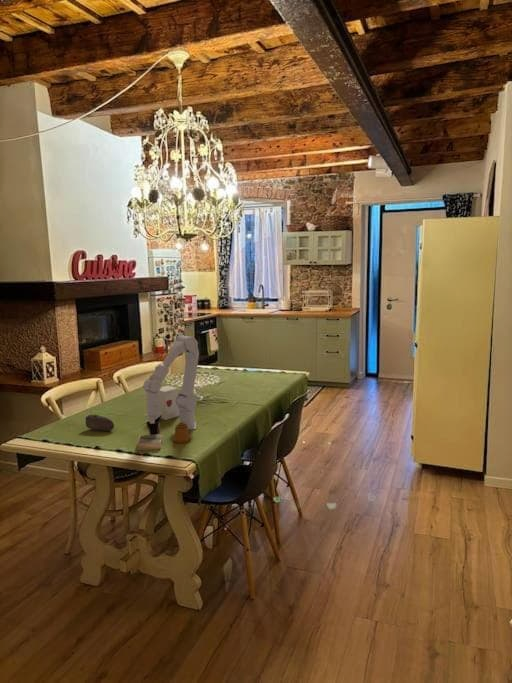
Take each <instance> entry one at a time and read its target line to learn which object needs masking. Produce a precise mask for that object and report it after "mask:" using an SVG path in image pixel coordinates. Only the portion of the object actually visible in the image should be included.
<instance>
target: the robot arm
mask: <svg viewBox="0 0 512 683" xmlns="http://www.w3.org/2000/svg"><path fill="white" fill-rule="evenodd" d="M198 344H199V342H198V341H197V339H196V337H195V338H194V337H193V336H186V335H183V334H179V335H177V336H176V337H175V339H174V341H173V342H172V346H171V348H170V349H169V350H168V351H169V352H168V353H167V355H166V356H165V358H164V359H163V361H162V363H159V364H157V365H156V366H155V367H154V370H153V372H152V373H151V375H149V377H148V378H147V379H146V380H144V382H143V385H142V388H143V389H144V390H145V395H146V396H145V397H146V412H147V413H145V414H144V417H146V418H148V419H149V421H146V426H147V427H148V431H149V430H150V433H151V435H154V434H157V429H158V425H159V422H160V421H161V416H162V414H161V413H160V400H159V390H160V389H161V387H162V383H163V381H164V380H165V378H166V377H167V375H168V374H169V373H170V372H169V371H170V369H169V367H170V366H171V365H172V364H173V362H174V361H175V360H176V358H177V357H178V356H179V355H180V354H185V355H186V362H185V366H184V375H183V379H182V386H181V389H180V390H178V396H177V397H176V405H177V406H178V409H179V416H178V417H179V418H178V420H179V423H181V422H183V423H185V424H186V425H188V431H190V430H196V427H197V422H196V421H195V410H196V409H195V408H197V404H198V403H197V394H196V392H195V391H194V390H195V389H194V388H195V384H196V383H195V382H196V377H197V370H198V365H199V357H200V351H199V347H198ZM160 423H161V422H160ZM179 423H178V424H179ZM150 433H149V434H150Z"/></svg>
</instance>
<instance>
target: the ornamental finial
mask: <svg viewBox="0 0 512 683" xmlns="http://www.w3.org/2000/svg"><path fill="white" fill-rule="evenodd" d="M189 431H190V430H188V425H186V424H185V423H183V422H181V423H178V424H176V425H175V427H174V436H173V441H174V442H175V443H177V444H183V443H184V444H185V443H189V441H190V440H191V437H192V436H191V435H190V432H189Z"/></svg>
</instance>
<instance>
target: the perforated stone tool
mask: <svg viewBox="0 0 512 683" xmlns="http://www.w3.org/2000/svg"><path fill="white" fill-rule="evenodd" d="M85 426H86V428H88V429H90V430H94V431H100V430H101V431H103V432H109V431H112V430H114V428H115V424H114V422H113V421H112V420H111V419H110V418H107V417H106V416H103V415H98V414H88V415H87V416H86V417H85ZM101 431H100V432H101Z"/></svg>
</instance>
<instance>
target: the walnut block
mask: <svg viewBox="0 0 512 683" xmlns="http://www.w3.org/2000/svg"><path fill="white" fill-rule="evenodd" d="M148 431H149V435H151V433H150V430H149V429H148ZM157 434H162V431H161V422H159V425H158V429H157Z"/></svg>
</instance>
